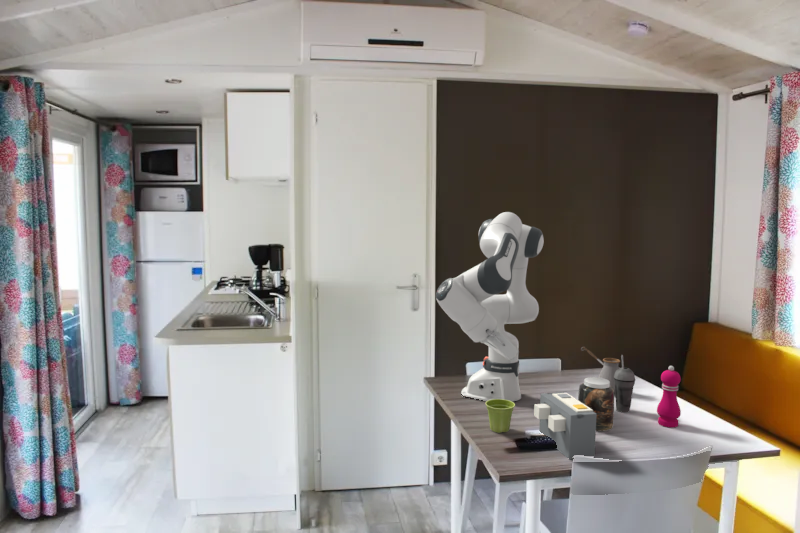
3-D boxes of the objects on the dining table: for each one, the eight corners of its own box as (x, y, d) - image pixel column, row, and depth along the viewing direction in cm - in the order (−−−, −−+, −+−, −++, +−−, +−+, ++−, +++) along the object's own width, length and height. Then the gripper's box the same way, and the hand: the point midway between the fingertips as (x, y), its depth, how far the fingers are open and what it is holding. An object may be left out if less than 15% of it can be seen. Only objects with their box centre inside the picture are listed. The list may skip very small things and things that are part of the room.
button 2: (553, 431, 174) (554, 419, 173) (548, 427, 177) (548, 415, 177) (569, 430, 175) (570, 418, 174) (563, 426, 178) (564, 414, 178)
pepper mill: (669, 429, 196) (673, 369, 194) (651, 422, 202) (654, 364, 200) (684, 426, 199) (688, 367, 197) (666, 419, 205) (669, 362, 203)
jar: (569, 420, 203) (571, 377, 201) (596, 416, 207) (598, 374, 206) (593, 433, 192) (595, 387, 190) (621, 428, 197) (623, 383, 195)
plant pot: (507, 437, 188) (508, 410, 187) (480, 431, 193) (480, 404, 192) (518, 428, 196) (519, 402, 195) (491, 422, 201) (492, 397, 200)
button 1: (538, 419, 183) (539, 408, 183) (533, 415, 187) (534, 404, 186) (554, 418, 184) (554, 407, 184) (548, 414, 188) (549, 403, 187)
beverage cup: (635, 414, 209) (638, 358, 207) (613, 413, 211) (616, 357, 209) (631, 407, 216) (634, 353, 214) (610, 406, 218) (613, 352, 216)
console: (569, 459, 172) (570, 413, 171) (539, 433, 191) (540, 391, 190) (594, 457, 174) (596, 411, 172) (562, 431, 193) (564, 390, 192)
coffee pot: (632, 394, 232) (634, 356, 230) (610, 398, 227) (612, 359, 225) (590, 379, 251) (592, 344, 249) (570, 383, 245) (571, 347, 244)
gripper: (502, 326, 158) (536, 360, 161) (477, 312, 178) (507, 343, 181) (486, 343, 157) (520, 378, 160) (462, 327, 177) (493, 358, 180)
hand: (513, 359), depth 171 cm, fingers closed
